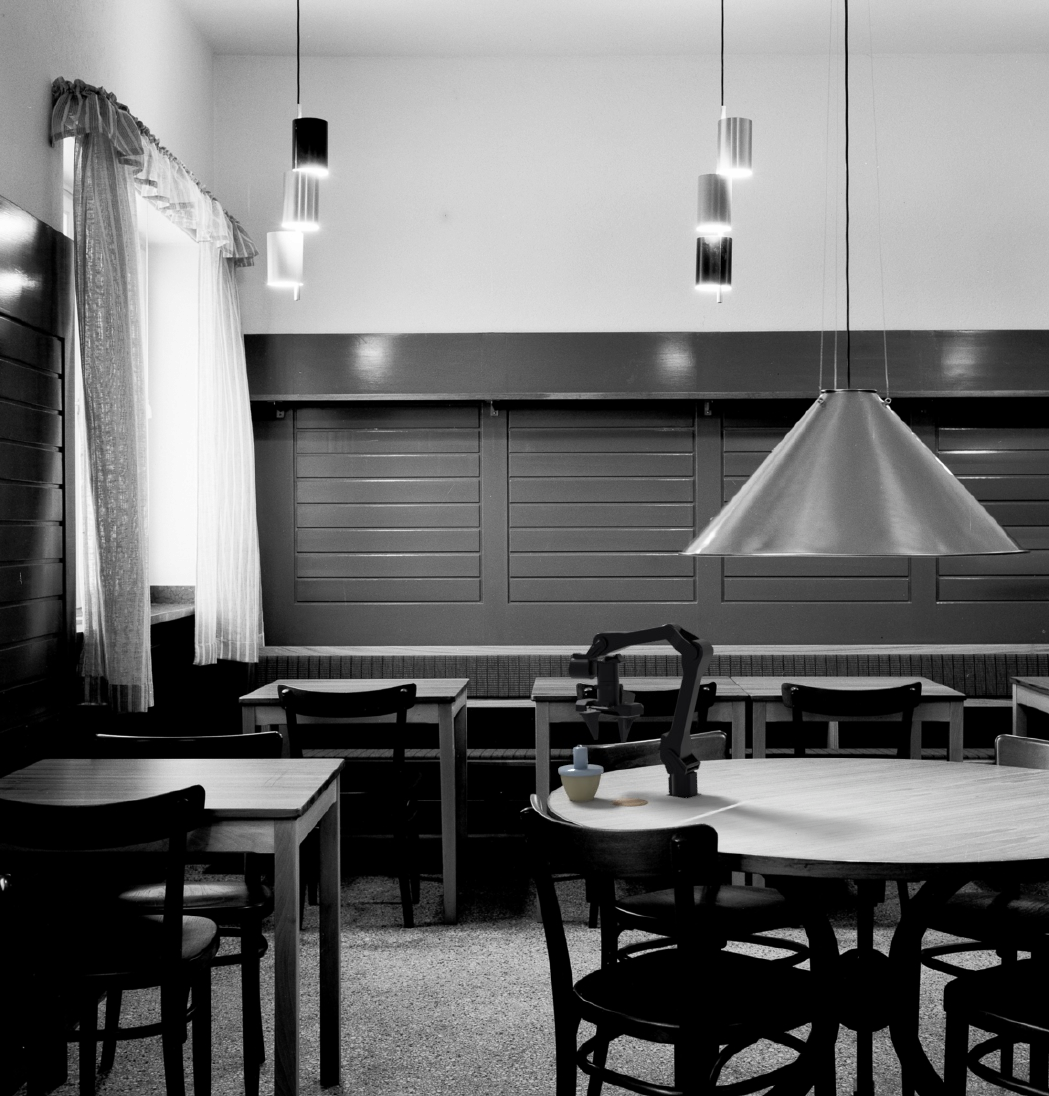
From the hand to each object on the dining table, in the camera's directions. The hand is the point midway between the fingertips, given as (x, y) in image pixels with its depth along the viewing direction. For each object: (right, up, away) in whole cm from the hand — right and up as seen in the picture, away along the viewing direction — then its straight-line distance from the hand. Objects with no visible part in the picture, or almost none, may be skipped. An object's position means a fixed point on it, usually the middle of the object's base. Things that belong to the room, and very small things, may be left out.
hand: (609, 740), depth 294 cm
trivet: (+3, -12, -18) cm, 22 cm away
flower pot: (-8, -13, -13) cm, 20 cm away
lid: (-8, -6, -13) cm, 16 cm away
